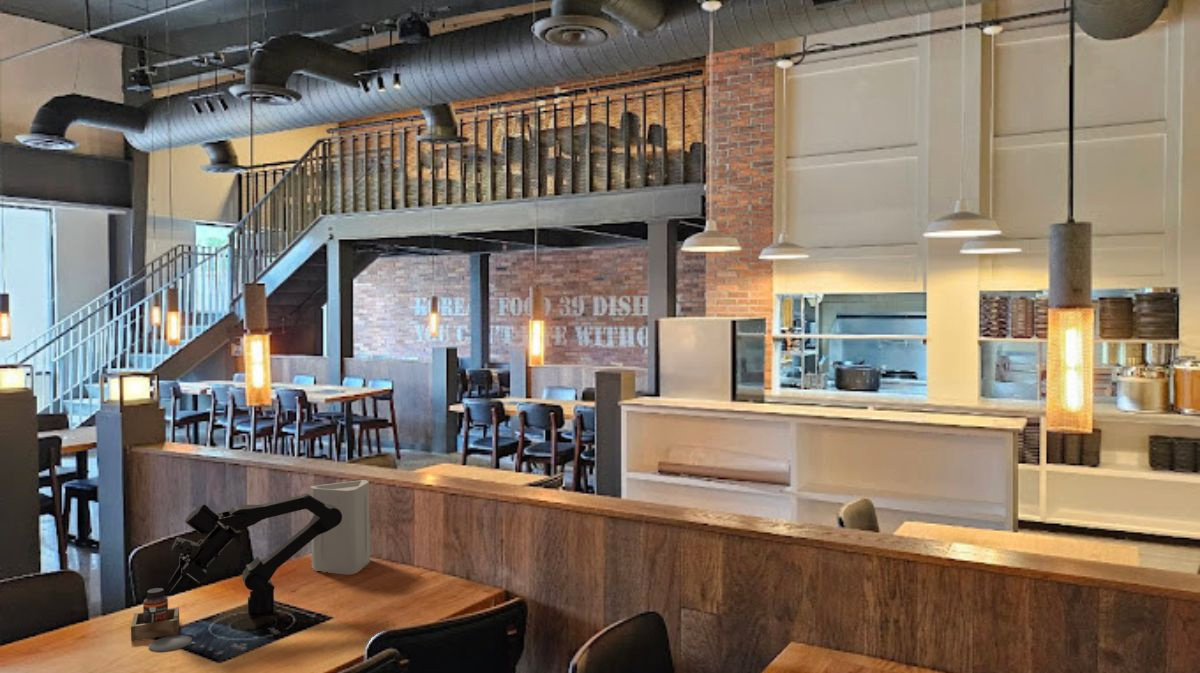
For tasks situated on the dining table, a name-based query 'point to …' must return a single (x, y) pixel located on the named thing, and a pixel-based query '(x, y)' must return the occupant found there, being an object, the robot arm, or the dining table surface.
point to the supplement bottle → (155, 606)
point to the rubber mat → (170, 643)
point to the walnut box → (155, 626)
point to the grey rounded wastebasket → (343, 529)
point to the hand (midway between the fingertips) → (169, 589)
